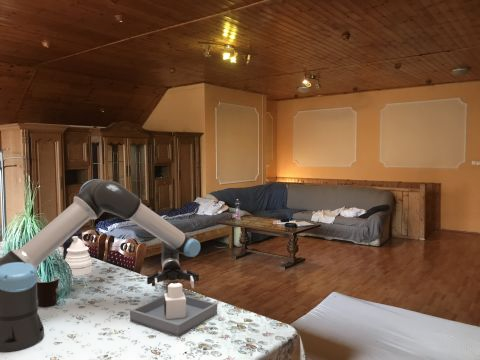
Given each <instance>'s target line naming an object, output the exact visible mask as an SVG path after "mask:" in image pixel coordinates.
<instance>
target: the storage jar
mask: <svg viewBox="0 0 480 360" xmlns="http://www.w3.org/2000/svg"><path fill="white" fill-rule="evenodd" d="M73 236H78V239H81V240H82V241H83V231H82V230H77V231H76V232H75V233H74V234H73V235H72V236H71V237H69V238H68V239H67V240H66V241H65V242H64V243H63V252H62V256H63V259H65V258H66V255H67V253H68V251H67V249H68V248H70V246H71V244H72V242H73V241H74V240H73V238H72V237H73Z"/></svg>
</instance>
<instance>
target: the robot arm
mask: <svg viewBox="0 0 480 360" xmlns="http://www.w3.org/2000/svg"><path fill="white" fill-rule="evenodd" d="M103 213H109V214H112V215H115V216H117V217H120V218H121V219H123V220H126V221H127V220H129V221H131V222H133V223H134V224H136V225H137V226H138V227H140V228H142V229H144V230H145V231H146V232H148V233H150V234H151V235H152V236H154V237H156V238H157V239H158V240H160V241H161V260H160V261H161V262H160V263H161V266H162V272H161V271H159V270H155V271H154V272H153V273H152V274H150V275H149V276H147V277H146V284H147V285H150V284H151V287H154V289H155V290H154V291H155V292H156V291H158V283H160V282H163V281H176V280H184V281H187V282H189V283H190V286H191V289H194V288H195V284H196V283H197V282H199V281H200V274H199V273H197V272H194V271H193V270H190V269H188V268H186V269H185V270H182V267H181V265H180V261H179V260H180V258H179V256H180V255H184V256H186V257H190V258H194V257H196V256H197V255H198V254H199V253H200V251H201V243H200V241H198V240H197V239H196V238H194V237H193V238H192V237H191V236H188V235H187V234H185V233H184V232H183V231H181V230H180V229H179V228H177V227H176V226H174V225H173V224H171V223H170V222H169V221H168V220H166V219H164V217H161V215H159V214H157V212H155V211H153V210H152V209H150V208H149V207H147V205H145V204H144V203H142V200H141V198H139V197H138V195H135V194H134V193H132V191H131V190H129V189H128V188H127V187H125V186H124V185H122V184H120V183H118V182H117V181H113V180H106V179H102V178H101V179H100V178H95V179H94V178H93V179H91V180H88V181H86V182H85V183H83V184H82V186H80V189H79V191H78V193H77V194H76V195H74V197H73V202H72V203H71V204H70V205H69V206H68V207H67V208H66V209H64V210H63V211H62V212H61V213H60V214H59V215H57V216H56V217H55V218H54V219H52V221H50V222H49V223H48V224H47V225H46V226H44V227H43V228H42V229H41V230H39V232H37V233H36V234H35V235H33V237H31V239H29V240H28V241H27V242H26V243H24V244H23V245H22V246H21V247H20V248H18V249H10V250H9V251H8V252H7V253H6V254H5V255H3V256H1V257H0V352H2V353H4V352H14V351H20V350H25V349H27V348H29V347H33V346H34V345H36V344H38V343H39V342H41V341H42V340H43V339H44V337H45V327H44V325H43V322H42V320H41V318H40V316H39V313H38V300H37V278H39V276H38V274H37V273H38V266H40V264H42V263H43V262H44V261H45V260H46V259H48V258H49V257H50V256H51V255H52V254H53V253H54V252H55V251H56V250H57V249H59V247H61V246H62V245H64V242H65V241H66V240H67V239H68V238H69V237H71V236H72V235H73V234H74V233H75V232H76V231H79V230H80V229H81V228H82V227H83V226H84V225H85V224H86V223H88V222H89V221H90V220H97V219H98V218H99V217H100V216H101V215H102V214H103ZM179 254H180V255H179Z"/></svg>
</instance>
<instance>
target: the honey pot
mask: <svg viewBox="0 0 480 360" xmlns="http://www.w3.org/2000/svg"><path fill="white" fill-rule="evenodd" d="M72 238H73V240H74V241H73V242H72V244H71V246H70V248H68V249H67V251H68V253H67V255H66V258H65V261H66V262H67V263H68V264H69V266H70V268H71V270H72V274H73V275H74V276H73V277H80V275H81V276H85V274H86V275H88V273H89V274H91V273H92V272H93V259H91V256H90V253H89V250H90V247H88V246H86V245H85V242H84V241H83V239H82V240H81V239H78V236H73V237H72ZM91 271H92V272H91ZM90 272H91V273H90ZM78 275H79V276H78Z"/></svg>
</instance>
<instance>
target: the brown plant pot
mask: <svg viewBox="0 0 480 360" xmlns="http://www.w3.org/2000/svg"><path fill="white" fill-rule="evenodd" d="M55 276H56V277H55V280H54V281H50V282H40V277H41V276H38V278H37V307H40V308H49V307H53V306H56V304H57V301H58V291H59V284H60V276H58V275H55Z"/></svg>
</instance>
